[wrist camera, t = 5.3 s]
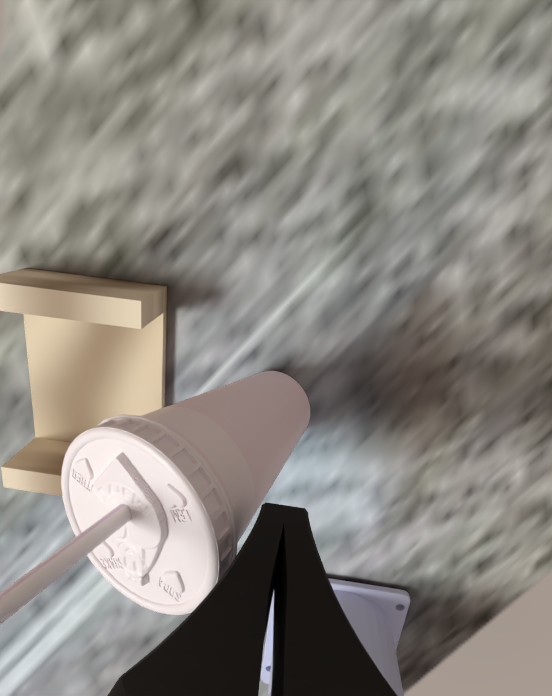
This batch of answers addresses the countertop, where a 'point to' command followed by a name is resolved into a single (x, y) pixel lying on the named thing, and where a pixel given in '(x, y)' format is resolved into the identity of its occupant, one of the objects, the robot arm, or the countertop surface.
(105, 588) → the countertop surface
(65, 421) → the u rest
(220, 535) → the smoothie
